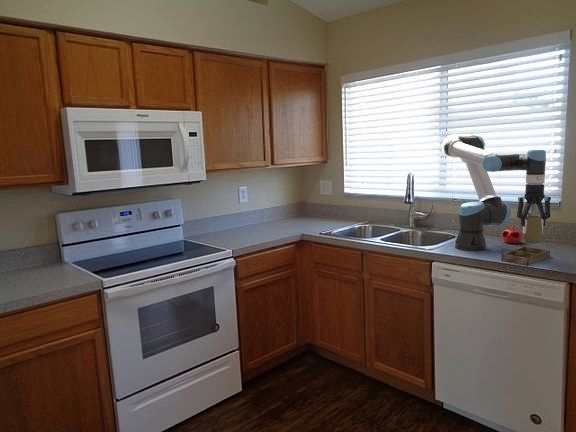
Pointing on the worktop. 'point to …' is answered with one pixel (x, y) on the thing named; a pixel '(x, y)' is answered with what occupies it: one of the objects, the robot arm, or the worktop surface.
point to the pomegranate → (512, 235)
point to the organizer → (525, 255)
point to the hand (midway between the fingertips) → (532, 233)
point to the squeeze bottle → (533, 226)
